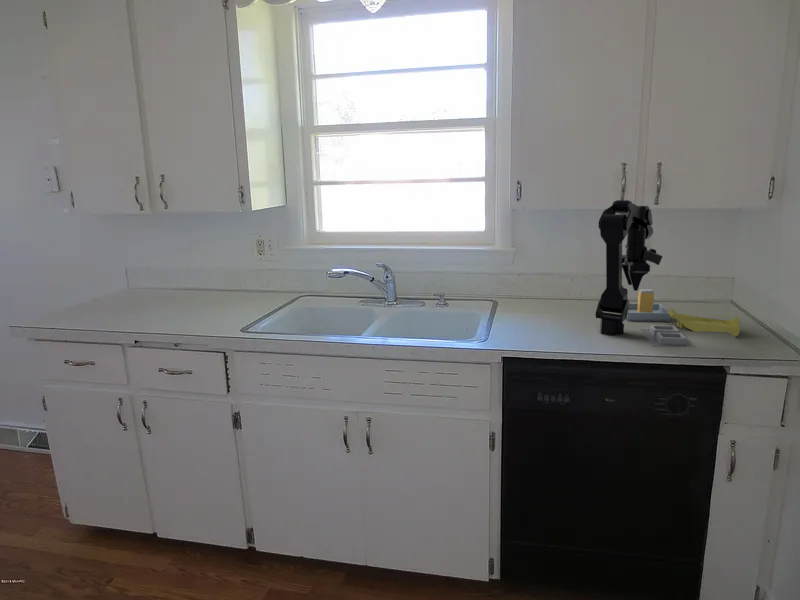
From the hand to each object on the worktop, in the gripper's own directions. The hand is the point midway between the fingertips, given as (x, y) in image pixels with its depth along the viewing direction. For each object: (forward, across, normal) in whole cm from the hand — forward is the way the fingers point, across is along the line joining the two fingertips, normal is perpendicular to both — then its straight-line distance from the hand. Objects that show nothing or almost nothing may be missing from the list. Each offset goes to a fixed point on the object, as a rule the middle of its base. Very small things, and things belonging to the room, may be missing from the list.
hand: (632, 287), depth 195 cm
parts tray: (+12, +7, -6) cm, 15 cm away
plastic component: (+12, -10, -20) cm, 26 cm away
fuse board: (+12, -24, -6) cm, 27 cm away
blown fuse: (+11, +7, -6) cm, 15 cm away
